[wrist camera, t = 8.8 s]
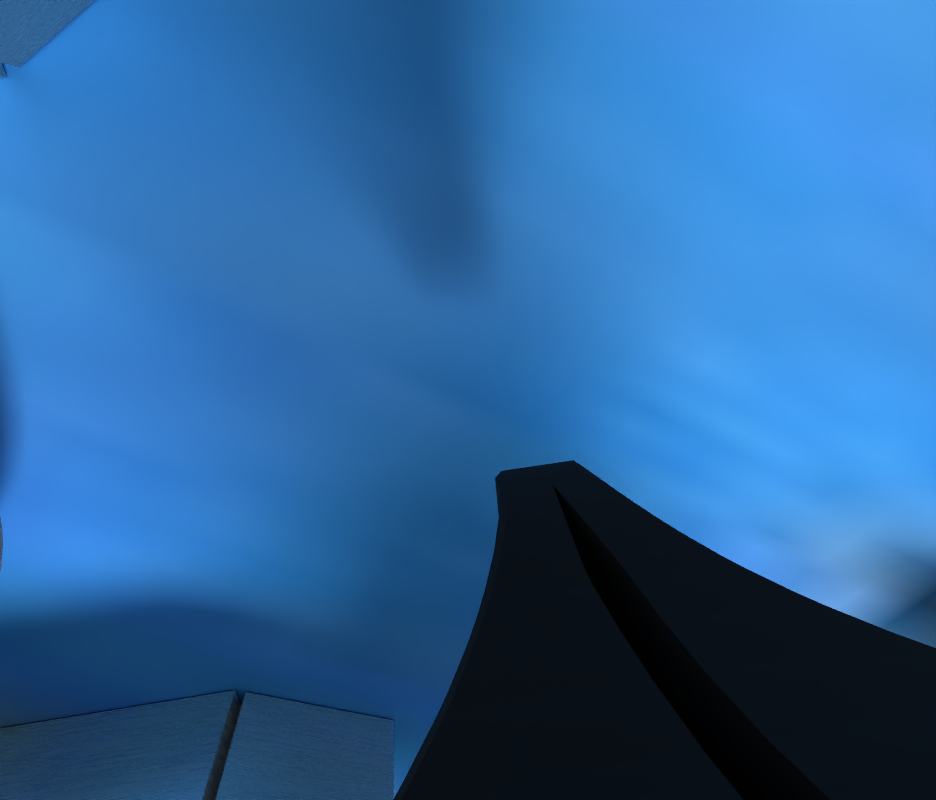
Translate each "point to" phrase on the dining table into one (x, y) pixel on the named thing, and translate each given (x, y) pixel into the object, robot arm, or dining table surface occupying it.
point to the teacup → (1, 544)
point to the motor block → (196, 718)
